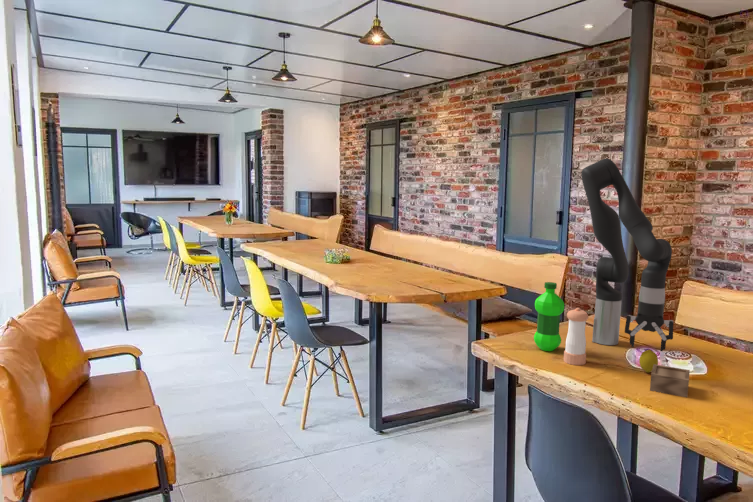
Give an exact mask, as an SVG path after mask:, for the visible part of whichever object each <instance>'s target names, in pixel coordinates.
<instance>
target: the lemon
mask: <svg viewBox="0 0 753 502" xmlns="http://www.w3.org/2000/svg"><path fill="white" fill-rule="evenodd" d="M654 364H656V365H659V358H658V355H657V354H656V352H655V351H653V350H652V349H649V348H648V349H647V350H644V351H642V352H641V354H640V356H639V366H640V368H641V369H642V370H643V371H645V372H646V373H648V374H649V373H650V372H651V373H652V369H653V365H654Z"/></svg>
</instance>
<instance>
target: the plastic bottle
mask: <svg viewBox="0 0 753 502" xmlns="http://www.w3.org/2000/svg"><path fill="white" fill-rule="evenodd" d="M543 287H544V289H545V291H544V292H543V293H542V294H541V295H539V296H538V297H537V298H536V299H535V301H534V308H535V311H536V312H537V319H536V331H535V333H534V334H533V340H534V343H535V345H536V346H537V347H538V348H539V349H540V350H541V351H545V352H553V351H555V350H556V349H557V348H558V347H560V345H561V343H562V338H561V335H560V324H561V321H560V320H561V314H562V313H564V310H565V303H564V300H563V299H562V298H561V297H560V296H559V295H558V294H557V293H556V291H555V290H556V289H557V287H558V286H557V282H551V281H547V282H544V286H543Z"/></svg>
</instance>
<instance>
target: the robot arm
mask: <svg viewBox="0 0 753 502" xmlns="http://www.w3.org/2000/svg"><path fill="white" fill-rule="evenodd" d="M580 175H581V181H582V185H583V189H584V192H585V195H586V198H587V202H588V203H587V204H588V207H589V212H590V217H591V224H592V231H593V234H594V237H595V238H596V240H597V242H598V243H599V244H600V245H602V247H603V248H604V249H606V251H607V252H608V253H609V255H610V256H611V257H609V256H608V257H607V256H602V257H600V258H599V259H598V260H597V262H596V263H597V264H596V267H595V269H596V271H595V306H594V317H593V327H592V328H593V329H592V340H591V341H592V343H596V344H599V345H605V346H614V345H618V344H619V340H620V325H621V314H622V313H621V312H622V298H623V293H622V292H621V291H620V290H618V289H616V288H614V287H613V286H612V285H611V284H610V283H615V284H616V283H617V284H621V283H622V284H623V283H626V281H627V280H628V277H629V273H630V272H629V269H630V268H629V267H630V266H629V263H628V258H627V254H626V252H625V248H624V243H623V236H622V227H621V223H622V225H623V226H624V227H625V229H626V231H627V232H628V233H629V235H630V236H631V237H632V240H633V242H634V245H635V246H636V249H637V251H638V253H639V255H640V256H641V257H642V258H643V259H644V260H646V261H647V265H646V266H645V268H644V269H643V270H642V271H641V272H642V273H641V278H640V289H639V294H638V304H637V314H636V316H635V315H631V314H627V315H626V319H625V326H624V333H625V334H628V335H629V346H631V348H634V347H635V342H636V341H635V339H636V338H635V337H636V334H637V333H638V332H640V331H641V330H642V331H644V332H648V331H649V332H651V333H654V332H656V333H657V335H659V337H660V348H659V349H660V352H663V351H666V347H667V346H666V345H667V344H666V343H667V341H669V340H673V339H674V320H673V319H669V320H665V319H664V312H665V311H664V310H665V302H666V282H667V281H666V280H667V272H668V269H669V266H670V263H671V259H672V255H673V253H672V252H673V251H672V246H671V244H670V242H669V241H668V240H666V239H664V238H656V236H655V235H654V233H653V231H654V230H653V229H654V226H653V224H652V222H651V221H650V220H649V218H648V217H647V216H646V215H645V213H644V212H643V211H642V209H641V208H640V206H639V205H638V203H637V202H636V199H635V198H634V196H633V193H632V192H631V190H630V188H629V186H628V184H627V182H626V180H625V178H624V177H623V175H622V173H621V171H620V169H619V167H618V166H617V165H616V163H615V162H614V161H613V160H611V158H603V159H600V160H597V161H596V162H594V163H592V164H590V165H589V164H588V165H587V166H585V167H583V169H582V170H581V174H580ZM609 186H613V188H614V190H615V191H616V193H617V198H618V212H617V211H616V210H614V209H613V207H611V206H610V205H609V204H607V203H606V202H605V201H604V200H603V199H602V196H601V190H603V189H606V188H607V187H609ZM634 321H635V322H636V324H637V325H636V326H635V327H634V328H633V329H632V330H631V329H630V325H631V323H634ZM664 324H665V326H666V327H667V328H668V334H666V333H665V332H664V331H663V329H662V328H661V327H662V326H663V325H664Z"/></svg>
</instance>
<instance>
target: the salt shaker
mask: <svg viewBox="0 0 753 502" xmlns="http://www.w3.org/2000/svg"><path fill="white" fill-rule="evenodd" d="M566 317H567V319H568V330H567V334H566V339H565V350H563V362H564V363H566V364H569V365H573V366H583V365H585V364H587V363H586V362H587V352H586V349H587V347H586V346H587V340H586V321H588V320H589V314H588V313H587V312H586V311H584V310H583V309H581V308H580V307H576V308H575V309H571V310H568V311H567V313H566Z"/></svg>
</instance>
